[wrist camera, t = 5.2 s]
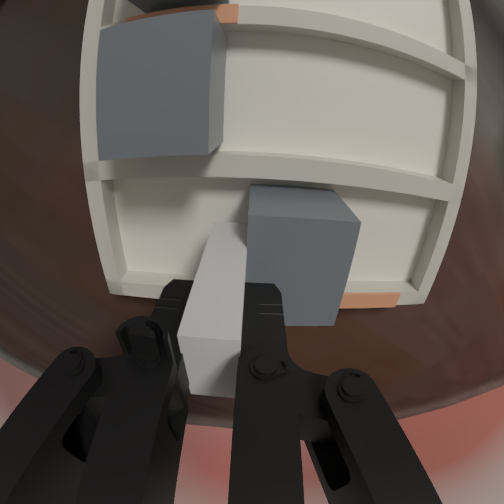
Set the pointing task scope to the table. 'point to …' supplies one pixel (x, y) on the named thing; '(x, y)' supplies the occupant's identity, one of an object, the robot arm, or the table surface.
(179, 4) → the slider
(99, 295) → the table surface
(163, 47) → the slider
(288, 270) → the slider
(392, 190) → the switch board
